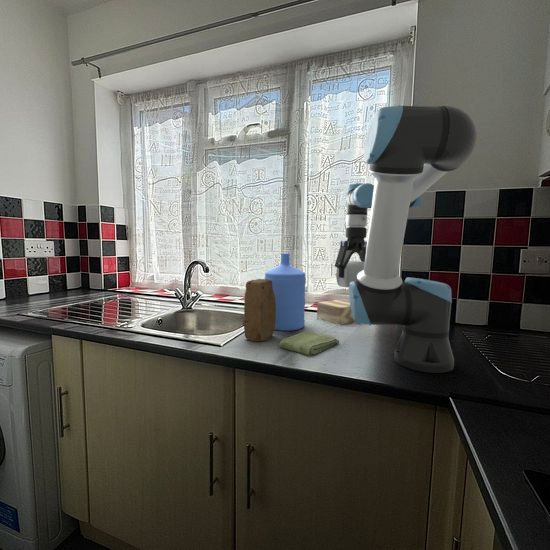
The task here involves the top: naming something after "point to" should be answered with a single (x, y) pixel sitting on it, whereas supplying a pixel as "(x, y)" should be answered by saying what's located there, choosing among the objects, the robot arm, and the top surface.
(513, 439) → the top surface
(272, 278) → the water jug
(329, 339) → the washcloth
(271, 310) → the block
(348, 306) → the oak brick
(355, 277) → the toilet paper
